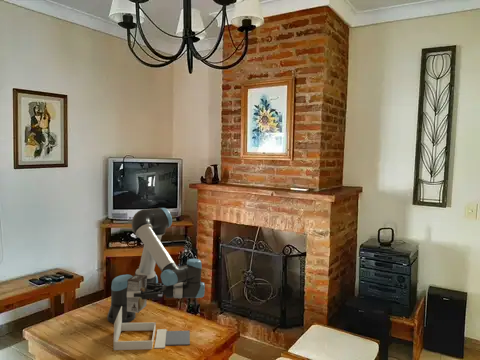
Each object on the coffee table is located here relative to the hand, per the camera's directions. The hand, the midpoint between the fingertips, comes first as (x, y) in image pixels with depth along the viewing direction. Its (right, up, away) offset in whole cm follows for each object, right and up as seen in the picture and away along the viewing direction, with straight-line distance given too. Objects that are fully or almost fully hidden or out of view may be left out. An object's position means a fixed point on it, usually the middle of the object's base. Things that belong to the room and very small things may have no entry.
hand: (128, 290), depth 186 cm
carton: (+6, -25, +3) cm, 26 cm away
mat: (+24, -26, +5) cm, 36 cm away
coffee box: (+4, -10, +1) cm, 11 cm away
